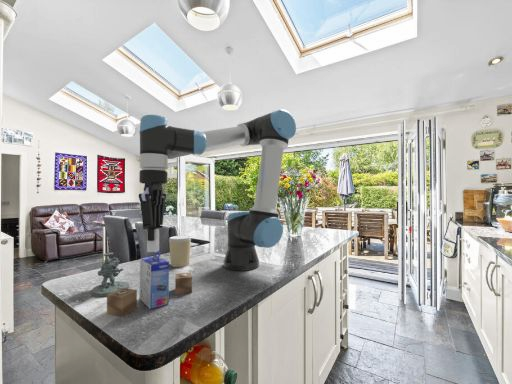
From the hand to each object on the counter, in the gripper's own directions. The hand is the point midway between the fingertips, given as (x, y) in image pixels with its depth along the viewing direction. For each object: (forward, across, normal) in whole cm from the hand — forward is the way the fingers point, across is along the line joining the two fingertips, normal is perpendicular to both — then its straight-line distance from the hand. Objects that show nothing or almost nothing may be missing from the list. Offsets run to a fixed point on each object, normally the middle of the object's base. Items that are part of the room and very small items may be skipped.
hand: (153, 251), depth 73 cm
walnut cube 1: (+15, +6, -6) cm, 17 cm away
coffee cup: (+14, -38, -5) cm, 40 cm away
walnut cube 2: (+15, -8, +6) cm, 18 cm away
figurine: (+15, -8, -18) cm, 25 cm away
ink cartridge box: (+15, 0, 0) cm, 15 cm away
